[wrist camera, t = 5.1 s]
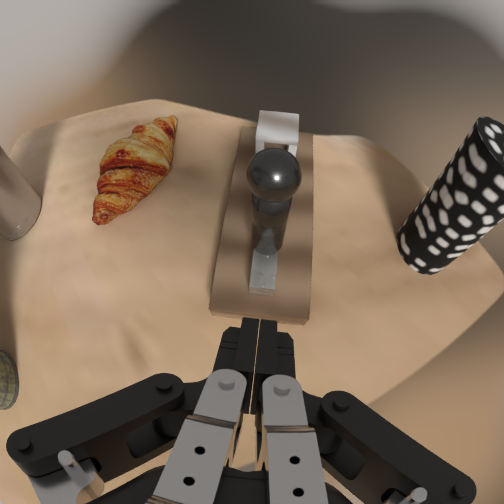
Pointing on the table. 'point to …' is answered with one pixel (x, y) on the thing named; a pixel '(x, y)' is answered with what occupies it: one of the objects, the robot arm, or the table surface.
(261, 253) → the bolt
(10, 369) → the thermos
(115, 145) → the croissant
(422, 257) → the spotted tube
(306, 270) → the door board
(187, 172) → the table surface
